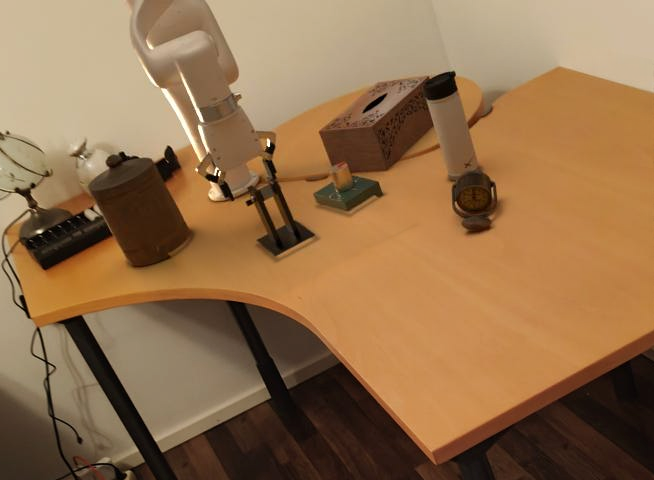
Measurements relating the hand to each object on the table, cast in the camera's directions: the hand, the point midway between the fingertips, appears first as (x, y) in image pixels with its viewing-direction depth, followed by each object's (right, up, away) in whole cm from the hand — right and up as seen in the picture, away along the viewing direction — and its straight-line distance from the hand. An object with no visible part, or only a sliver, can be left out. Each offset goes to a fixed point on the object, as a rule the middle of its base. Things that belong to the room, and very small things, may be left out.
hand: (252, 188), depth 172 cm
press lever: (+3, -3, -5) cm, 7 cm away
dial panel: (+20, -2, +4) cm, 20 cm away
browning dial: (+19, +1, +2) cm, 19 cm away
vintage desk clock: (+44, -9, -19) cm, 49 cm away
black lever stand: (+8, -11, -3) cm, 14 cm away
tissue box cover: (+27, +15, +23) cm, 39 cm away
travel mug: (+43, +2, -2) cm, 43 cm away
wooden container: (-23, -10, +15) cm, 29 cm away
